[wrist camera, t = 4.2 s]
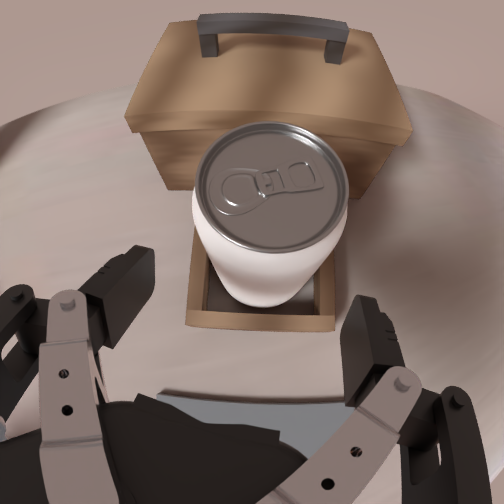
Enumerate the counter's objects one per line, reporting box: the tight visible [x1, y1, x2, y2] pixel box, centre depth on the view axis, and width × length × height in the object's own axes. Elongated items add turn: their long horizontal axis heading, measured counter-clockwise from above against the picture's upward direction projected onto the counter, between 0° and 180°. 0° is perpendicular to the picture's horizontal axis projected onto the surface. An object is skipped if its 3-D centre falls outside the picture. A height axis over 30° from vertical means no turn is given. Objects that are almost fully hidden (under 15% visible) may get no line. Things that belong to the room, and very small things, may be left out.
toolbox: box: [124, 13, 413, 332], centre depth 18 cm, size 17×22×13 cm
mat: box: [157, 393, 355, 459], centre depth 17 cm, size 14×12×1 cm
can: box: [192, 121, 349, 308], centre depth 16 cm, size 6×6×12 cm
